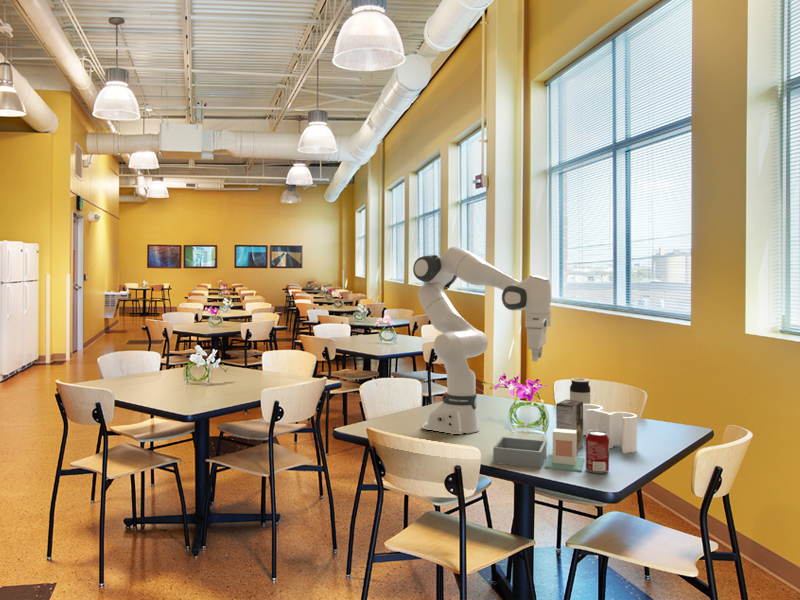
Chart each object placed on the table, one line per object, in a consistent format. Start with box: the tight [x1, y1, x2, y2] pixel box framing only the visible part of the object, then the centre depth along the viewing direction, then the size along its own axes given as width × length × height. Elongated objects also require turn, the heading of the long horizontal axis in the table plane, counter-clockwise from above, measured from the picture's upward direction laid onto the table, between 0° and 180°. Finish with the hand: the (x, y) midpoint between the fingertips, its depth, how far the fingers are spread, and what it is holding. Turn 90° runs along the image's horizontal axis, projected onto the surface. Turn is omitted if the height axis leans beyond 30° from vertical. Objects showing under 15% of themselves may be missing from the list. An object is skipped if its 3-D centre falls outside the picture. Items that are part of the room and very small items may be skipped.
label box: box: [552, 428, 578, 465], centre depth 189 cm, size 5×7×10 cm, turn 69°
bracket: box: [583, 403, 638, 454], centre depth 212 cm, size 25×10×12 cm, turn 31°
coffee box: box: [555, 399, 584, 451], centre depth 206 cm, size 9×6×16 cm
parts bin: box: [492, 436, 547, 469], centre depth 194 cm, size 15×14×5 cm
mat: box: [544, 454, 585, 473], centre depth 189 cm, size 11×13×1 cm
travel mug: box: [569, 377, 591, 404], centre depth 242 cm, size 8×8×18 cm
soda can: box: [585, 430, 610, 475], centre depth 181 cm, size 7×7×12 cm
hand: (536, 359), depth 212 cm, fingers open, 8 cm apart
